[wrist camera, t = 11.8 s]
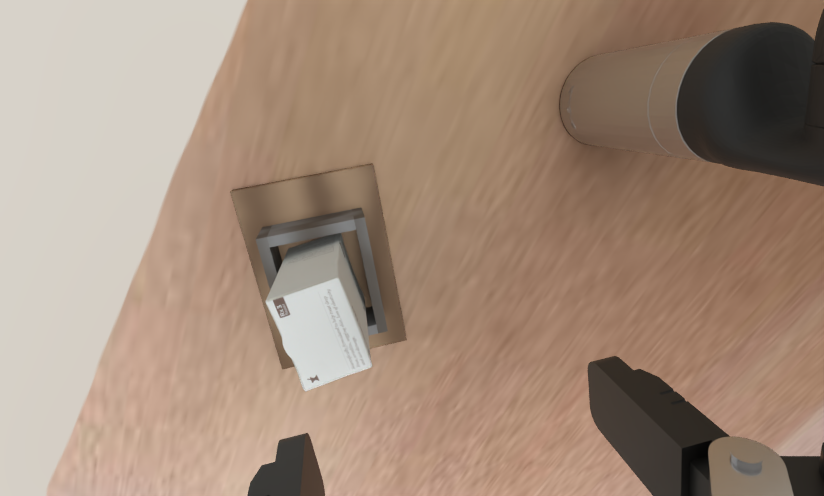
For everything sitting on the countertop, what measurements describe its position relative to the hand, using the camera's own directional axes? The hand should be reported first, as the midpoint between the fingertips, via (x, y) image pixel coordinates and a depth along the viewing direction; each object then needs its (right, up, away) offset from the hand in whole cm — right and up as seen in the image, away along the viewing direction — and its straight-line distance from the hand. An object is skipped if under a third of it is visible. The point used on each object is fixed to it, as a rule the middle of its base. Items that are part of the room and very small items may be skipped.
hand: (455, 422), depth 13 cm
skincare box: (-10, +2, +36) cm, 37 cm away
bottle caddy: (-10, +3, +36) cm, 38 cm away
